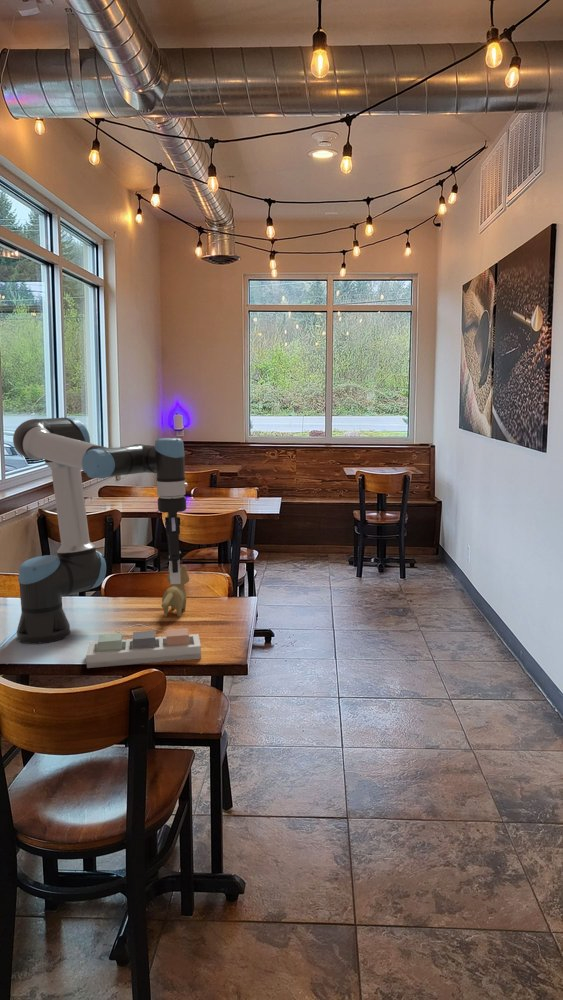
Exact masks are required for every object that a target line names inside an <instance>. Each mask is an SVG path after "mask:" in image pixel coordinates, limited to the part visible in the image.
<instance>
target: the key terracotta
mask: <svg viewBox="0 0 563 1000" xmlns="http://www.w3.org/2000/svg"><path fill="white" fill-rule="evenodd" d="M165 632H166V633H165V634H166V635H165V636H166V640H167V645H176V644H188V643H189V635H190V634H189V628H188V627H182V628H179V627H178V628H170V629H169V628H168V629H167V628H166V629H165Z"/></svg>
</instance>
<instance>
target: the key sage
mask: <svg viewBox="0 0 563 1000" xmlns="http://www.w3.org/2000/svg"><path fill="white" fill-rule="evenodd" d="M122 633H123V632H120V633H119V632H115V633H104V634H103V633H102V634H99V635H98V640H97V642H98V651H101V650H113V649H122V640H123V634H122Z"/></svg>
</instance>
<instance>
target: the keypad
mask: <svg viewBox="0 0 563 1000" xmlns="http://www.w3.org/2000/svg"><path fill="white" fill-rule="evenodd" d="M155 641H156V646H151V647H138V648H133V638H131V639H130V638H129V639H128V638H127V639H122V649H113V650H101V651H98V641H91V642H88V646H87V650H86V654H85V659H86V660H85V661H86V669H90V668H91V669H92V668H94V669H95V668H104V667H116V666H129V665H139V664H151V663H152V664H154V663H163V662H164V661H166V662H176V661H175V660H177V661H190V660H199V659H202V647H201V646H202V645H201V640H200V636H199V633H193V634H189V643H188V644H176V645H167V640H166V635H164V636H162V637H160V636H155Z"/></svg>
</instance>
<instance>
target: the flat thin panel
mask: <svg viewBox="0 0 563 1000" xmlns="http://www.w3.org/2000/svg"><path fill="white" fill-rule="evenodd" d="M137 625H140V626H143V627H147V628H149V629H152V630H155V631H159V632H162V630H159V629H158V628H157V629H156V628H154V627H150V626H148V625H147V626H146V625H144V624H141V623H137V624H133V625H131V626H127V627H126V629H127V628H130V627H133V626H137ZM124 628H125V627H124ZM124 628H121V629H118V630H115V633H122V635H126V633H123V632H120V631H121V630H125V629H124ZM126 636H128V637H132V638H133V635H132V636H131V635H129V634H127V635H126ZM161 636H162V637H165V636H166V633H164V634H163V635H160V636H159V637H161Z"/></svg>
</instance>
